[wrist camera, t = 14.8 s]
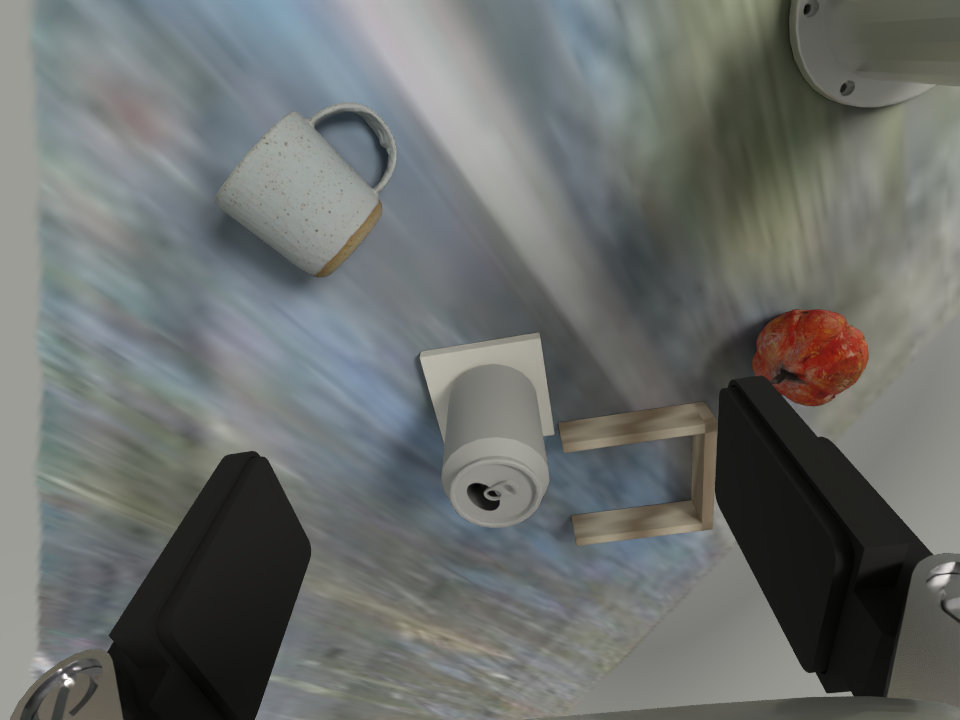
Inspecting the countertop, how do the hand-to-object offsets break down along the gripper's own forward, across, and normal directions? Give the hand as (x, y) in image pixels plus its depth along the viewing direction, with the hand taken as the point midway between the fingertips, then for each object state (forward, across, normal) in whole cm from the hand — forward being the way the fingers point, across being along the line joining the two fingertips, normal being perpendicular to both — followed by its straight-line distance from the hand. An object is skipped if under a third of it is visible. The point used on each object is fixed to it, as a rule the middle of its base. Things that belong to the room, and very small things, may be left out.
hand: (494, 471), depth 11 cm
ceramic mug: (+31, +11, -2) cm, 33 cm away
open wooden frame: (+30, -9, +29) cm, 43 cm away
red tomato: (+31, -22, +17) cm, 41 cm away
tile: (+30, +3, +18) cm, 35 cm away
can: (+30, +3, +18) cm, 35 cm away
